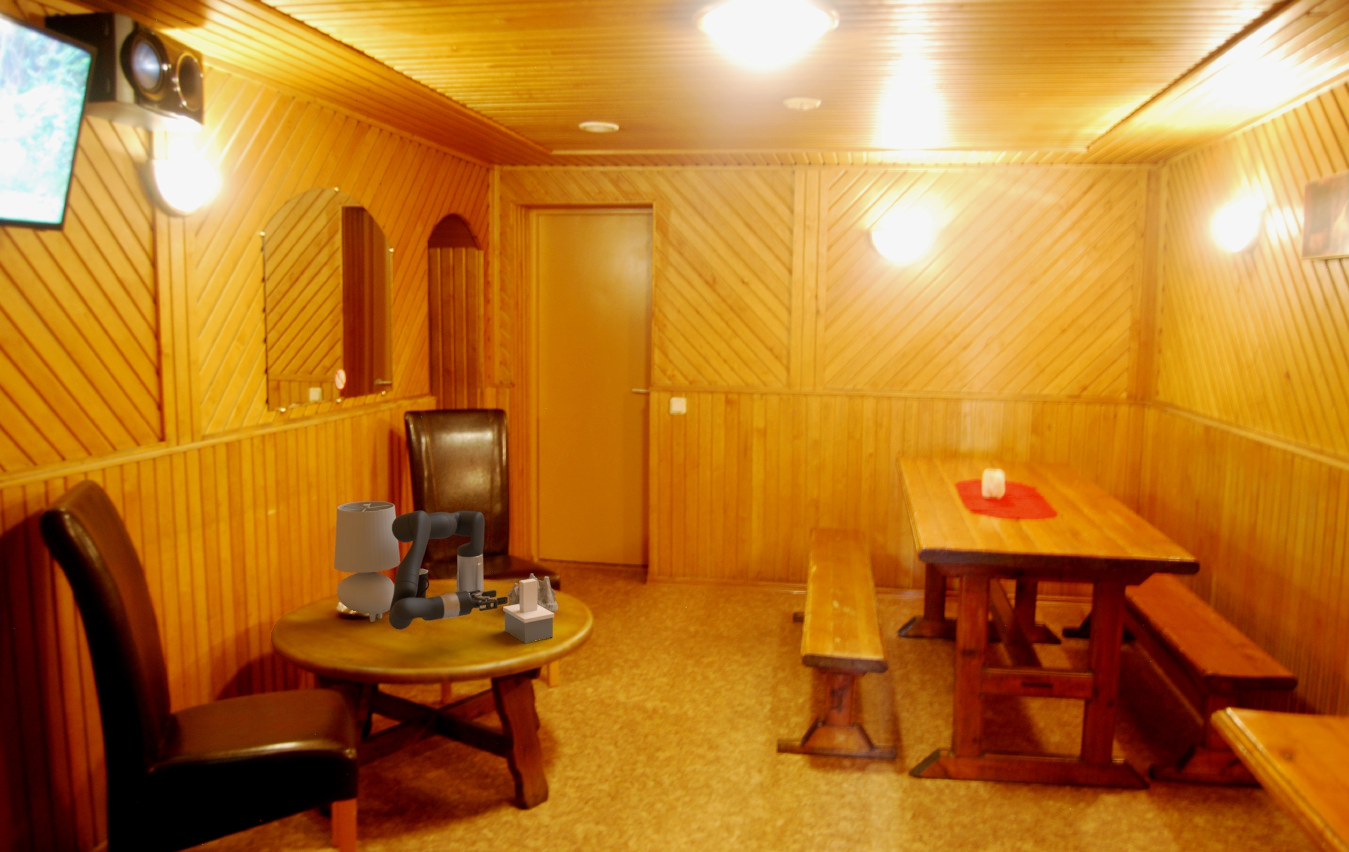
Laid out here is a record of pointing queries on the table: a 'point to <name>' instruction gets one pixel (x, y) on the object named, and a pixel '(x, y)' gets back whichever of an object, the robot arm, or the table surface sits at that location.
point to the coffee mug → (422, 584)
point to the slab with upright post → (528, 604)
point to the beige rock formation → (543, 594)
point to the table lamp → (366, 555)
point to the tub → (528, 628)
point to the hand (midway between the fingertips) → (501, 596)
